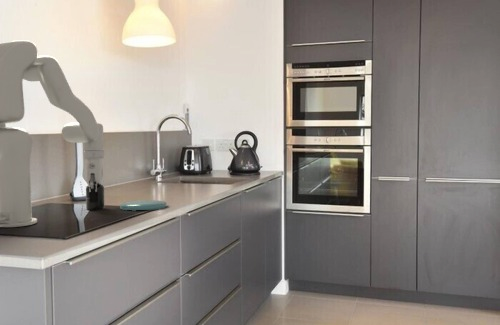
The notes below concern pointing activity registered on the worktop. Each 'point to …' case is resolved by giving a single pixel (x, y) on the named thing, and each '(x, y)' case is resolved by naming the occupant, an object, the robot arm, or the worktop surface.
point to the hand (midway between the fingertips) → (95, 200)
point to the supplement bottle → (100, 203)
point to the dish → (143, 205)
